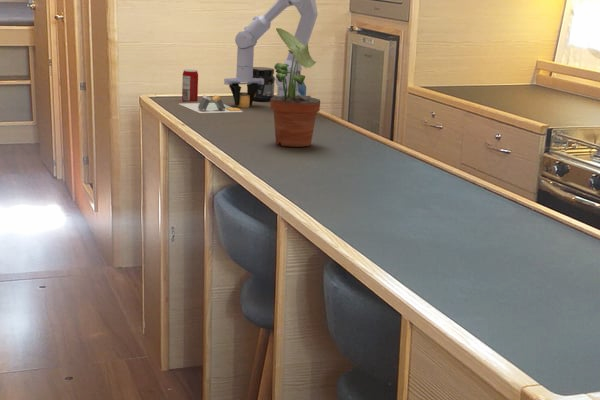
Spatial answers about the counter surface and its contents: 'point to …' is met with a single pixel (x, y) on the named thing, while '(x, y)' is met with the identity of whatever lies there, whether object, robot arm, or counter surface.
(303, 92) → the perfume bottle
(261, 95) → the supplement container
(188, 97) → the soda can
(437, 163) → the counter surface
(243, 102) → the cap
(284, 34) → the potted plant
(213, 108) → the panel
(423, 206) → the counter surface
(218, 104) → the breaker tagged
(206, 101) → the breaker
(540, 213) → the counter surface
